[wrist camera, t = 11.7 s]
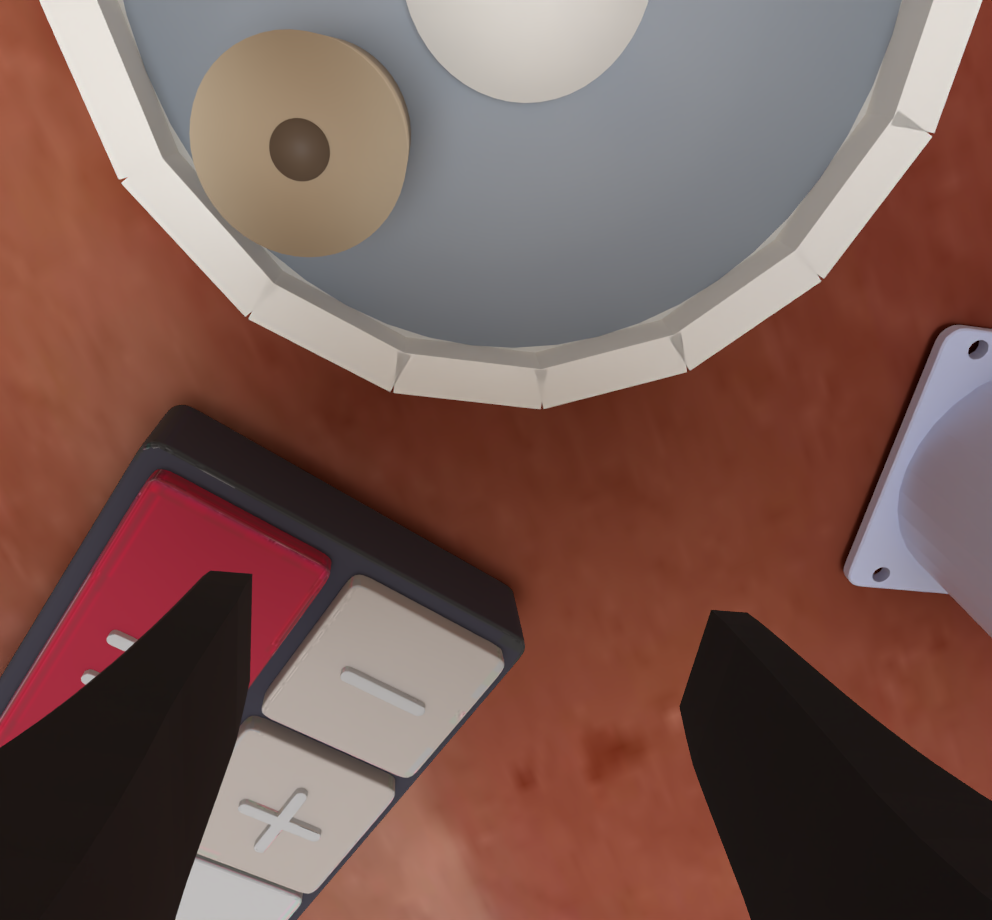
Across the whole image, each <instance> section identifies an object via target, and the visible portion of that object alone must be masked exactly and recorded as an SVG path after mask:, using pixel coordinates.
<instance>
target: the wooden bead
mask: <svg viewBox="0 0 992 920" xmlns="http://www.w3.org/2000/svg"><path fill="white" fill-rule="evenodd" d="M189 134H190V147H191V153H192V158H193V163H194V166H195V169H196V172H197V175H198V178H199V180H200V182H201V184H202V186H203V189H204V191H205V193H206V194H207V196H208V197H209V199H210V201H211V202H212V204H213V205H214V207H215V208H216V209H217V210H218V212H219V213H220V214H221V215H222V217H223V218H224V219H225V220H226V221H227V222H228V223H229V224H230V225H231V226H232V227H234V228H235V229H236V230H237V231H239V232H240V233H241V234H242V235H244V236H245V237H247V238H248V239H250V240H251V241H253V242H255V243H256V244H258V245H261V246H263V247H265V248H267V249H269V250H272V251H275V252H278V253H281V254H286V255H291V256H297V257H322V256H327V255H332V254H336V253H339V252H342V251H345V250H348V249H350V248H352V247H354V246H356V245H358V244H359V243H361V242H362V241H364V240H365V239H367V238H368V237H370V236H371V235H372V234H373V233H374V232H375V231H376V230H377V229H378V228H379V227H380V226H381V225H382V224H383V222H384V221H385V220H386V219H387V218H388V216H389V214H390V213H391V211H392V210H393V208H394V206H395V204H396V202H397V200H398V197H399V195H400V193H401V189H402V186H403V183H404V179H405V173H406V168H407V162H408V157H409V151H410V145H411V126H410V118H409V113H408V109H407V106H406V103H405V100H404V97H403V95H402V93H401V91H400V88H399V86H398V85H397V83H396V82H395V80H394V78H393V77H392V75H391V74H390V73H389V72H388V70H387V69H386V68H385V67H384V66H383V65H382V64H381V63H380V62H379V61H378V60H377V59H376V58H375V57H374V56H372V55H371V54H370V53H368V52H367V51H366V50H364V49H362V48H360V47H359V46H357V45H355V44H353V43H350V42H348V41H345V40H342V39H338V38H334V37H330V36H326V35H321V34H317V33H313V32H309V31H303V30H293V29H283V30H272V31H267V32H262V33H258V34H256V35H253V36H250V37H248V38H245V39H244V40H242V41H240V42H238V43H236V44H235V45H233V46H232V47H231V48H229V49H228V50H227V51H225V52H224V53H223V54H222V55H221V56H220V57H219V58H218V59H217V60H216V61H215V62H214V63H213V64H212V66H211V67H210V69H209V70H208V71H207V73H206V74H205V76H204V78H203V80H202V82H201V84H200V86H199V88H198V90H197V93H196V96H195V99H194V102H193V106H192V111H191V117H190V133H189Z"/></svg>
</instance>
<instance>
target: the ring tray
mask: <svg viewBox="0 0 992 920" xmlns="http://www.w3.org/2000/svg"><path fill="white" fill-rule="evenodd" d="M39 1H40V3H41V5H42V8H43V10H44V12H45V14H46V17H47V19H48V21H49V23H50V26H51V28H52V30H53V33H54V35H55V37H56V39H57V42H58V44H59V46H60V48H61V51H62V53H63V55H64V57H65V60H66V62H67V64H68V66H69V69H70V71H71V73H72V75H73V78H74V80H75V82H76V84H77V87H78V89H79V91H80V93H81V96H82V98H83V100H84V102H85V105H86V107H87V109H88V111H89V114H90V116H91V118H92V120H93V123H94V125H95V127H96V130H97V132H98V134H99V136H100V139H101V141H102V143H103V145H104V148H105V150H106V152H107V154H108V157H109V159H110V161H111V163H112V166H113V168H114V170H115V172H116V175H117V177H118V179H122V178H126V177H128V178H126V179H125V180H124V181H123V182H122V183H121V184H122V185H123V186H124V187H125V188H126V189H127V190H128V191H129V192H130V193H131V194H132V195H133V197H134V198H135V199H136V200H137V201H138V202H139V203H140V204H141V205H142V206H143V207H144V208H145V209H146V211H147V212H148V213H149V214H150V215H151V216H152V217H153V218H154V219H155V220H156V221H157V222H158V223H159V224H160V226H161V227H162V228H163V229H164V230H165V231H166V232H167V233H168V234H169V235H170V236H171V237H172V238H173V240H174V241H175V242H176V243H177V244H178V245H179V246H180V247H181V248H182V249H183V250H184V251H185V252H186V254H187V255H188V256H189V257H190V258H191V259H192V260H193V261H194V262H195V263H196V264H197V265H198V266H199V268H200V269H201V270H202V271H203V272H204V273H205V274H206V275H207V276H208V277H209V278H210V279H211V280H212V282H213V283H214V284H215V285H216V286H217V287H218V288H219V289H220V290H221V291H222V292H223V293H224V294H225V296H226V297H227V298H228V299H229V300H230V301H231V302H232V303H233V304H234V305H235V306H236V307H237V308H238V310H239V311H240V312H241V313H242V314H243V315H244V316H245V317H246V316H247V315H248V314H249V313H251V312H252V313H251V315H250V317H249V320H251V321H253V322H255V323H257V324H259V325H261V326H263V327H265V328H266V329H268V330H270V331H272V332H274V333H276V334H278V335H280V336H282V337H284V338H286V339H288V340H290V341H292V342H294V343H296V344H298V345H300V346H302V347H303V348H305V349H307V350H309V351H311V352H313V353H315V354H317V355H319V356H321V357H323V358H325V359H327V360H329V361H331V362H333V363H335V364H337V365H339V366H340V367H342V368H344V369H346V370H348V371H350V372H352V373H354V374H356V375H358V376H360V377H362V378H364V379H366V380H368V381H370V382H372V383H374V384H376V385H377V386H379V387H381V388H383V389H385V390H387V391H389V392H390V391H391V390H392V388H393V386H394V393H398V394H407V395H416V396H425V397H434V398H443V399H452V400H461V401H470V402H479V403H488V404H497V405H506V406H515V407H524V408H533V409H541V404H542V405H543V408H544V409H546V408H550V407H554V406H558V405H562V404H566V403H569V402H573V401H577V400H581V399H585V398H589V397H593V396H597V395H600V394H604V393H608V392H612V391H616V390H620V389H624V388H628V387H631V386H635V385H639V384H643V383H647V382H651V381H655V380H659V379H662V378H666V377H670V376H674V375H678V374H682V373H686V372H687V369H686V367H687V368H688V369H689V370H692V369H693V368H695V367H696V366H698V365H699V364H701V363H702V362H704V361H705V360H707V359H708V358H709V357H711V356H712V355H714V354H715V353H717V352H718V351H720V350H721V349H723V348H724V347H726V346H727V345H729V344H730V343H731V342H733V341H734V340H736V339H737V338H739V337H740V336H742V335H743V334H745V333H746V332H748V331H749V330H751V329H752V328H753V327H755V326H756V325H758V324H759V323H761V322H762V321H764V320H765V319H767V318H768V317H770V316H771V315H773V314H774V313H776V312H777V311H778V310H780V309H781V308H783V307H784V306H786V305H787V304H789V303H790V302H792V301H793V300H795V299H796V298H798V297H799V296H800V295H802V294H803V293H805V292H806V291H808V290H809V289H811V288H812V287H814V286H815V285H817V284H818V283H820V282H821V280H820V278H819V276H820V277H822V278H823V279H824V278H825V277H826V275H827V274H828V273H829V272H830V270H831V269H832V268H833V266H834V265H835V264H836V262H837V261H838V260H839V258H840V257H841V256H842V254H843V253H844V252H845V251H846V249H847V248H848V247H849V245H850V244H851V243H852V241H853V240H854V239H855V237H856V236H857V235H858V233H859V232H860V231H861V230H862V228H863V227H864V226H865V224H866V223H867V222H868V220H869V219H870V218H871V216H872V215H873V214H874V213H875V211H876V210H877V209H878V207H879V206H880V205H881V203H882V202H883V201H884V199H885V198H886V197H887V195H888V194H889V193H890V192H891V190H892V189H893V188H894V186H895V185H896V184H897V182H898V181H899V180H900V178H901V177H902V176H903V174H904V173H905V172H906V171H907V169H908V168H909V167H910V165H911V164H912V163H913V161H914V160H915V159H916V157H917V156H918V155H919V154H920V152H921V151H922V150H923V148H924V147H925V146H926V144H927V143H928V142H929V140H930V139H931V138H932V136H931V135H930V134H928V133H927V132H932V133H935V130H936V127H937V124H938V122H939V119H940V116H941V113H942V111H943V108H944V105H945V102H946V100H947V97H948V94H949V91H950V88H951V86H952V83H953V80H954V77H955V75H956V72H957V69H958V66H959V64H960V61H961V58H962V55H963V53H964V50H965V47H966V44H967V42H968V39H969V36H970V33H971V30H972V28H973V25H974V22H975V19H976V17H977V14H978V11H979V8H980V6H981V3H982V0H39ZM283 29H293V30H303V31H309V32H313V33H317V34H321V35H326V36H330V37H334V38H338V39H342V40H345V41H348V42H350V43H353V44H355V45H357V46H359V47H360V48H362V49H364V50H366V51H367V52H368V53H370V54H371V55H372V56H374V57H375V58H376V59H377V60H378V61H379V62H380V63H381V64H382V65H383V66H384V67H385V68H386V69H387V70H388V72H389V73H390V74H391V75H392V77H393V78H394V80H395V82H396V83H397V85H398V86H399V88H400V91H401V93H402V95H403V97H404V100H405V103H406V106H407V109H408V113H409V118H410V126H411V145H410V151H409V157H408V162H407V168H406V173H405V179H404V183H403V186H402V189H401V193H400V195H399V197H398V200H397V202H396V204H395V206H394V208H393V210H392V211H391V213H390V214H389V216H388V218H387V219H386V220H385V221H384V222H383V224H382V225H381V226H380V227H379V228H378V229H377V230H376V231H375V232H374V233H373V234H372V235H371V236H370V237H368V238H367V239H365V240H364V241H362V242H361V243H359V244H358V245H356V246H354V247H352V248H350V249H348V250H345V251H342V252H339V253H336V254H332V255H327V256H322V257H297V256H291V255H286V254H281V253H278V252H275V251H272V250H269V249H267V248H265V247H263V246H261V245H258V244H256V243H255V242H253V241H251V240H250V239H248V238H247V237H245V236H244V235H242V234H241V233H240V232H239V231H237V230H236V229H235V228H234V227H232V226H231V225H230V224H229V223H228V222H227V221H226V220H225V219H224V218H223V217H222V215H221V214H220V213H219V212H218V210H217V209H216V208H215V207H214V205H213V204H212V202H211V201H210V199H209V197H208V196H207V194H206V193H205V191H204V189H203V186H202V184H201V182H200V180H199V178H198V175H197V172H196V169H195V166H194V163H193V158H192V153H191V147H190V134H189V133H190V117H191V111H192V106H193V102H194V99H195V96H196V93H197V90H198V88H199V86H200V84H201V82H202V80H203V78H204V76H205V74H206V73H207V71H208V70H209V69H210V67H211V66H212V64H213V63H214V62H215V61H216V60H217V59H218V58H219V57H220V56H221V55H222V54H223V53H224V52H225V51H227V50H228V49H229V48H231V47H232V46H233V45H235V44H236V43H238V42H240V41H242V40H244V39H245V38H248V37H250V36H253V35H256V34H258V33H262V32H267V31H272V30H283Z"/></svg>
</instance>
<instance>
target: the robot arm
mask: <svg viewBox="0 0 992 920" xmlns="http://www.w3.org/2000/svg"><path fill="white" fill-rule="evenodd" d="M978 340H979V345H978V347H977V349H976V350H975V351H974V352H972V353H971V354H968V351H969V348H970V346H971V345H972V344H973V343H974V342H976V341H978ZM882 567H883V568H882ZM879 568H882V570H881V571H880V572H878V573H877V574H873V573H874V572H875V570H877V569H879ZM843 571H844V574H845V576H846V577H847V579H848V580H849V581H850V582H851V583H852V584H853V585H856V586H862V587H874V588H885V589H897V590H909V591H920V592H932V593H944V594H949V595H950V596H951V597H952V598H953V599H954V600H955V601H956V602H957V603H958V604H959V605H960V606H961V607H962V608H963V609H964V610H965V611H966V612H967V613H968V614H969V615H970V616H971V617H972V618H973V619H974V620H975V621H976V622H977V623H978V624H979V625H980V626H981V627H982V628H983V629H984V630H985V631H986V632H987V633H988V634H989V635H990V637H991V638H992V329H988V328H981V327H973V326H966V325H953V326H950V327H948V328H946V329H945V330H944V331H942V332H941V333H940V334H939V336H938V337H937V339H936V341H935V343H934V345H933V348H932V350H931V353H930V355H929V358H928V360H927V363H926V365H925V368H924V370H923V372H922V375H921V377H920V380H919V382H918V385H917V387H916V390H915V392H914V395H913V397H912V400H911V402H910V405H909V407H908V410H907V412H906V414H905V417H904V419H903V422H902V424H901V427H900V429H899V432H898V434H897V437H896V439H895V442H894V444H893V447H892V449H891V451H890V454H889V456H888V459H887V461H886V464H885V466H884V469H883V471H882V474H881V476H880V479H879V481H878V484H877V486H876V488H875V491H874V493H873V496H872V498H871V501H870V503H869V506H868V508H867V511H866V513H865V516H864V518H863V521H862V523H861V526H860V528H859V530H858V533H857V535H856V538H855V540H854V543H853V545H852V548H851V550H850V553H849V555H848V558H847V560H846V563H845V565H844V570H843ZM251 616H252V574H249V573H236V572H223V571H211V570H210V571H209V572H208V573H206V574H205V575H204V576H202V577H201V578H200V579H199V580H198V581H197V582H196V584H195V585H194V586H193V587H192V588H191V589H190V590H189V591H188V592H187V593H186V594H185V595H184V596H183V597H182V598H181V599H180V600H179V601H178V602H177V603H176V604H175V605H174V606H173V607H172V608H171V609H170V610H169V611H168V612H167V613H166V614H165V615H164V616H163V617H162V618H161V619H160V620H159V621H158V622H157V623H156V624H155V625H153V626H152V627H151V628H150V629H149V630H148V631H147V632H146V633H145V634H144V635H143V636H141V637H140V638H139V639H138V640H137V641H136V642H135V643H134V644H133V645H132V646H131V647H129V648H128V649H127V650H126V651H125V652H124V653H123V654H122V655H121V656H120V657H118V658H117V659H116V660H115V661H114V662H113V663H111V664H110V665H109V666H108V667H107V668H105V669H104V670H103V671H102V672H101V673H99V674H98V675H97V676H96V677H94V678H93V679H92V680H91V681H90V682H88V683H87V684H86V685H85V686H84V687H82V688H81V689H80V690H79V691H77V692H76V693H75V694H74V695H73V696H71V697H70V698H69V699H67V700H66V701H65V702H63V703H62V704H61V705H59V706H58V707H57V708H56V709H54V710H53V711H52V712H50V713H49V714H47V715H46V716H45V717H43V718H42V719H41V720H39V721H38V722H37V723H35V724H34V725H32V726H31V727H29V728H28V729H26V730H25V731H24V732H22V733H21V734H19V735H18V736H16V737H15V738H14V739H12V740H11V741H9V742H8V743H6V744H5V745H3V746H2V747H0V920H175V919H176V915H177V912H178V909H179V906H180V902H181V899H182V896H183V893H184V889H185V886H186V883H187V880H188V877H189V875H190V872H191V869H192V866H193V863H194V861H195V858H196V855H197V852H198V849H199V846H200V844H201V841H202V838H203V835H204V832H205V830H206V827H207V824H208V821H209V818H210V815H211V813H212V810H213V807H214V804H215V801H216V799H217V796H218V793H219V790H220V787H221V784H222V782H223V779H224V776H225V773H226V770H227V767H228V764H229V762H230V759H231V756H232V753H233V750H234V747H235V744H236V741H237V736H238V732H239V728H240V724H241V719H242V715H243V710H244V706H245V701H246V697H247V692H248V688H249V683H250V661H251ZM680 711H681V716H682V720H683V725H684V729H685V734H686V739H687V743H688V747H689V751H690V755H691V759H692V763H693V766H694V769H695V772H696V775H697V777H698V780H699V783H700V786H701V788H702V791H703V794H704V796H705V799H706V802H707V804H708V807H709V810H710V812H711V815H712V817H713V820H714V823H715V825H716V828H717V830H718V833H719V836H720V838H721V841H722V843H723V846H724V848H725V851H726V854H727V856H728V859H729V861H730V864H731V867H732V869H733V872H734V874H735V877H736V880H737V882H738V885H739V887H740V890H741V893H742V895H743V898H744V901H745V904H746V906H747V909H748V912H749V915H750V918H751V920H992V801H991V800H989V799H988V798H986V797H984V796H983V795H981V794H980V793H978V792H977V791H975V790H974V789H972V788H971V787H969V786H968V785H966V784H965V783H963V782H962V781H960V780H959V779H957V778H956V777H954V776H953V775H951V774H950V773H948V772H947V771H945V770H944V769H942V768H941V767H939V766H938V765H936V764H935V763H934V762H932V761H931V760H929V759H928V758H927V757H925V756H924V755H922V754H921V753H920V752H918V751H917V750H915V749H914V748H913V747H911V746H910V745H909V744H907V743H906V742H905V741H903V740H902V739H901V738H900V737H898V736H897V735H896V734H894V733H893V732H892V731H890V730H889V729H888V728H886V727H885V726H884V725H883V724H881V723H880V722H879V721H877V720H876V719H875V718H874V717H872V716H871V715H870V714H869V713H867V712H866V711H865V710H864V709H862V708H861V707H860V706H859V705H857V704H856V703H855V702H854V701H852V700H851V699H850V698H849V697H848V696H846V695H845V694H844V693H843V692H842V691H840V690H839V689H838V688H837V687H836V686H834V685H833V684H832V683H831V682H830V681H829V680H827V679H826V678H825V677H824V676H823V675H821V674H820V673H819V672H818V671H817V670H816V669H814V668H813V667H812V666H811V665H810V664H809V663H807V662H806V661H805V660H804V659H803V658H802V657H801V656H799V655H798V654H797V653H796V652H795V651H794V650H792V649H791V648H790V647H789V646H788V645H787V644H785V643H784V642H783V641H782V640H781V639H779V638H778V637H777V636H776V635H775V634H774V633H772V632H771V631H770V630H769V629H767V628H766V627H765V626H764V625H763V624H761V623H760V622H759V621H757V620H756V619H755V618H753V617H752V616H751V615H749V614H748V613H743V612H730V611H718V610H711V612H710V616H709V619H708V622H707V625H706V628H705V631H704V634H703V637H702V640H701V643H700V646H699V649H698V652H697V655H696V658H695V661H694V664H693V667H692V670H691V673H690V676H689V679H688V682H687V686H686V689H685V692H684V695H683V698H682V701H681V704H680Z"/></svg>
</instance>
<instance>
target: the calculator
mask: <svg viewBox="0 0 992 920" xmlns="http://www.w3.org/2000/svg"><path fill="white" fill-rule="evenodd" d="M210 570H211V571H223V572H236V573H249V574H252V616H251V661H250V683H249V688H248V692H247V697H246V701H245V706H244V710H243V715H242V719H241V724H240V728H239V732H238V736H237V741H236V744H235V747H234V750H233V753H232V756H231V759H230V762H229V764H228V767H227V770H226V773H225V776H224V779H223V782H222V784H221V787H220V790H219V793H218V796H217V799H216V801H215V804H214V807H213V810H212V813H211V815H210V818H209V821H208V824H207V827H206V830H205V832H204V835H203V838H202V841H201V844H200V846H199V849H198V852H197V855H196V858H195V861H194V863H193V866H192V869H191V872H190V875H189V877H188V880H187V883H186V886H185V889H184V893H183V896H182V899H181V902H180V906H179V909H178V912H177V915H176V919H175V920H297V919H298V918H299V916H300V915H301V914H302V913H303V912H304V911H305V909H306V908H307V907H308V906H309V905H310V903H311V902H312V901H313V900H314V899H315V898H316V896H317V895H318V894H319V893H320V892H321V891H322V889H323V888H324V887H325V886H326V885H327V884H328V882H329V881H330V880H331V879H332V878H333V876H334V875H335V874H336V873H337V872H338V871H339V869H340V868H341V867H342V866H343V865H344V864H345V862H346V861H347V860H348V859H349V858H350V857H351V855H352V854H353V853H354V852H355V851H356V850H357V848H358V847H359V846H360V845H361V844H362V842H363V841H364V840H365V839H366V838H367V837H368V835H369V834H370V833H371V832H372V831H373V830H374V828H375V827H376V826H377V825H378V824H379V823H380V821H381V820H382V819H383V818H384V817H385V815H386V814H387V813H388V812H389V811H390V810H391V808H392V807H393V806H394V805H395V804H396V803H397V801H398V800H399V799H400V798H401V797H402V796H403V794H404V793H405V792H406V791H407V790H408V789H409V787H410V786H411V785H412V784H413V783H414V781H415V780H416V779H417V778H418V777H419V776H420V774H421V773H422V772H423V771H424V770H425V769H426V767H427V766H428V765H429V764H430V763H431V762H432V760H433V759H434V758H435V757H436V756H437V754H438V753H439V752H440V751H441V750H442V749H443V747H444V746H445V745H446V744H447V743H448V742H449V740H450V739H451V738H452V737H453V736H454V735H455V733H456V732H457V731H458V730H459V729H460V728H461V726H462V725H463V724H464V723H465V722H466V720H467V719H468V718H469V717H470V716H471V715H472V713H473V712H474V711H475V710H476V709H477V708H478V706H479V705H480V704H481V703H482V702H483V701H484V699H485V698H486V697H487V696H488V695H489V693H490V692H491V691H492V690H493V689H494V688H495V686H496V685H497V684H498V683H499V682H500V681H501V679H502V678H503V677H504V676H505V675H506V674H507V672H508V671H509V670H510V669H511V668H512V667H513V665H514V664H515V663H516V662H517V661H518V659H519V658H520V657H521V655H522V654H523V652H524V649H525V644H524V638H523V633H522V629H521V624H520V620H519V616H518V611H517V607H516V603H515V598H514V594H513V591H512V590H511V589H510V588H509V587H508V586H507V585H505V584H503V583H502V582H500V581H498V580H497V579H495V578H493V577H491V576H489V575H488V574H486V573H484V572H482V571H481V570H479V569H477V568H475V567H474V566H472V565H470V564H468V563H466V562H465V561H463V560H461V559H459V558H458V557H456V556H454V555H452V554H451V553H449V552H447V551H445V550H444V549H442V548H440V547H438V546H436V545H435V544H433V543H431V542H429V541H428V540H426V539H424V538H422V537H421V536H419V535H417V534H415V533H414V532H412V531H410V530H408V529H406V528H405V527H403V526H401V525H399V524H398V523H396V522H394V521H392V520H391V519H389V518H387V517H385V516H384V515H382V514H380V513H378V512H376V511H375V510H373V509H371V508H369V507H368V506H366V505H364V504H362V503H361V502H359V501H357V500H355V499H354V498H352V497H350V496H348V495H346V494H345V493H343V492H341V491H339V490H338V489H336V488H334V487H332V486H331V485H329V484H327V483H325V482H323V481H322V480H320V479H318V478H316V477H315V476H313V475H311V474H309V473H308V472H306V471H304V470H302V469H301V468H299V467H297V466H295V465H293V464H292V463H290V462H288V461H286V460H285V459H283V458H281V457H279V456H278V455H276V454H274V453H272V452H271V451H269V450H267V449H265V448H263V447H262V446H260V445H258V444H256V443H255V442H253V441H251V440H249V439H248V438H246V437H244V436H242V435H240V434H239V433H237V432H235V431H233V430H232V429H230V428H228V427H226V426H225V425H223V424H221V423H219V422H218V421H216V420H214V419H212V418H210V417H209V416H207V415H205V414H203V413H201V412H200V411H198V410H196V409H194V408H192V407H189V406H186V405H178V406H175V407H172V408H171V409H170V410H169V411H168V412H167V413H166V414H165V416H164V417H163V418H162V420H161V421H160V422H159V424H158V425H157V426H156V427H155V429H154V430H153V431H152V433H151V434H150V435H149V437H148V438H147V439H146V441H145V442H144V443H143V445H142V446H141V447H140V449H139V450H138V452H137V453H136V455H135V457H134V458H133V460H132V461H131V463H130V465H129V466H128V468H127V470H126V471H125V473H124V475H123V476H122V478H121V480H120V481H119V483H118V485H117V486H116V488H115V490H114V491H113V493H112V494H111V496H110V498H109V499H108V501H107V503H106V504H105V506H104V508H103V509H102V511H101V513H100V514H99V516H98V518H97V519H96V521H95V523H94V524H93V526H92V528H91V529H90V531H89V532H88V534H87V536H86V537H85V539H84V541H83V542H82V544H81V546H80V547H79V549H78V551H77V552H76V554H75V556H74V557H73V559H72V561H71V562H70V564H69V565H68V567H67V569H66V570H65V572H64V574H63V575H62V577H61V579H60V580H59V582H58V584H57V585H56V587H55V589H54V590H53V592H52V594H51V595H50V597H49V598H48V600H47V602H46V603H45V605H44V607H43V608H42V610H41V612H40V613H39V615H38V617H37V618H36V620H35V622H34V623H33V625H32V627H31V628H30V630H29V632H28V633H27V635H26V636H25V638H24V640H23V641H22V643H21V645H20V646H19V648H18V650H17V651H16V653H15V655H14V656H13V658H12V660H11V661H10V663H9V665H8V666H7V668H6V669H5V671H4V673H3V674H2V676H1V678H0V747H2V746H3V745H5V744H6V743H8V742H9V741H11V740H12V739H14V738H15V737H16V736H18V735H19V734H21V733H22V732H24V731H25V730H26V729H28V728H29V727H31V726H32V725H34V724H35V723H37V722H38V721H39V720H41V719H42V718H43V717H45V716H46V715H47V714H49V713H50V712H52V711H53V710H54V709H56V708H57V707H58V706H59V705H61V704H62V703H63V702H65V701H66V700H67V699H69V698H70V697H71V696H73V695H74V694H75V693H76V692H77V691H79V690H80V689H81V688H82V687H84V686H85V685H86V684H87V683H88V682H90V681H91V680H92V679H93V678H94V677H96V676H97V675H98V674H99V673H101V672H102V671H103V670H104V669H105V668H107V667H108V666H109V665H110V664H111V663H113V662H114V661H115V660H116V659H117V658H118V657H120V656H121V655H122V654H123V653H124V652H125V651H126V650H127V649H128V648H129V647H131V646H132V645H133V644H134V643H135V642H136V641H137V640H138V639H139V638H140V637H141V636H143V635H144V634H145V633H146V632H147V631H148V630H149V629H150V628H151V627H152V626H153V625H155V624H156V623H157V622H158V621H159V620H160V619H161V618H162V617H163V616H164V615H165V614H166V613H167V612H168V611H169V610H170V609H171V608H172V607H173V606H174V605H175V604H176V603H177V602H178V601H179V600H180V599H181V598H182V597H183V596H184V595H185V594H186V593H187V592H188V591H189V590H190V589H191V588H192V587H193V586H194V585H195V584H196V582H197V581H198V580H199V579H200V578H201V577H202V576H204V575H205V574H206V573H208V572H209V571H210Z"/></svg>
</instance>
